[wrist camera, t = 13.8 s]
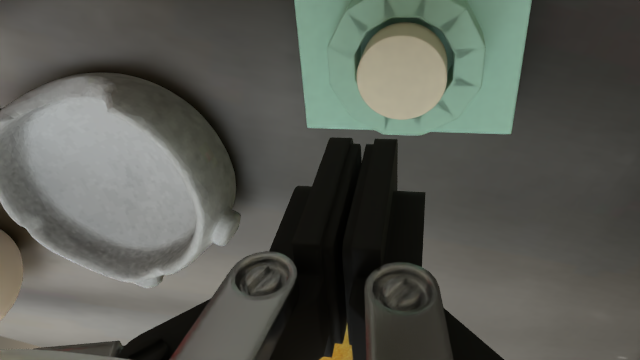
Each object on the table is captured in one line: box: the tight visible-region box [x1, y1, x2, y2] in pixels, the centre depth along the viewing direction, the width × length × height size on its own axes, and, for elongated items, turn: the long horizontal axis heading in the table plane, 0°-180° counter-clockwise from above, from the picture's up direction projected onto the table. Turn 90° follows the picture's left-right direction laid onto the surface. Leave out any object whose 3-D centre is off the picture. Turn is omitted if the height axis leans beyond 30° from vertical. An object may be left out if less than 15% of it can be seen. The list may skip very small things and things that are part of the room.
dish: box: [0, 72, 241, 288], centre depth 30 cm, size 14×14×5 cm
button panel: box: [294, 0, 532, 136], centre depth 21 cm, size 12×10×4 cm
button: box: [357, 22, 447, 120], centre depth 20 cm, size 4×4×2 cm
